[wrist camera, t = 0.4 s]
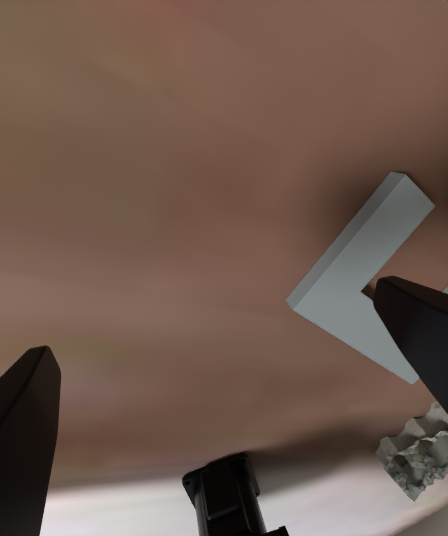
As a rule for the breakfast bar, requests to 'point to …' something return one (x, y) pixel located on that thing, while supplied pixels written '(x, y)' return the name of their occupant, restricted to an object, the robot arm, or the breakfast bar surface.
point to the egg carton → (418, 452)
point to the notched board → (363, 272)
